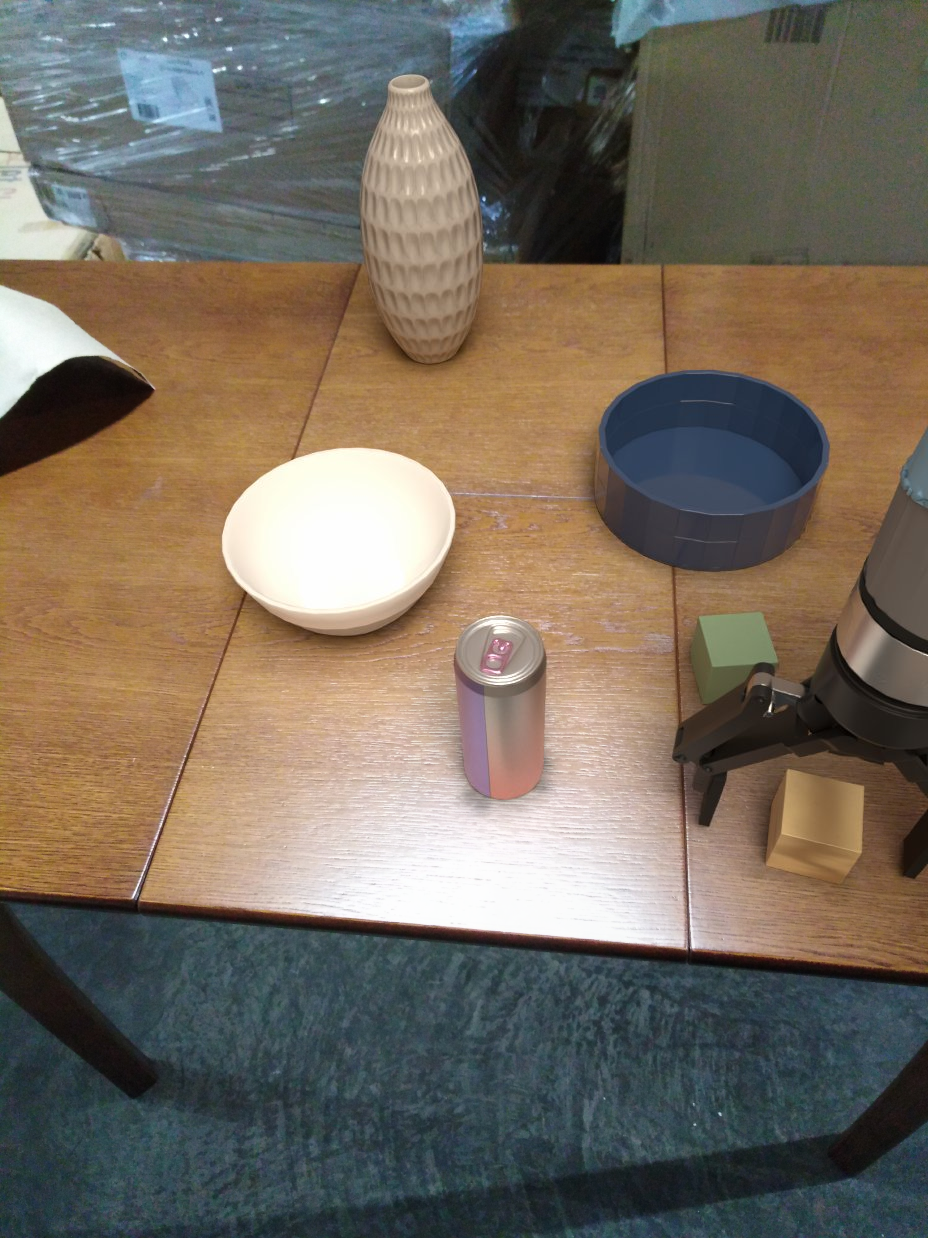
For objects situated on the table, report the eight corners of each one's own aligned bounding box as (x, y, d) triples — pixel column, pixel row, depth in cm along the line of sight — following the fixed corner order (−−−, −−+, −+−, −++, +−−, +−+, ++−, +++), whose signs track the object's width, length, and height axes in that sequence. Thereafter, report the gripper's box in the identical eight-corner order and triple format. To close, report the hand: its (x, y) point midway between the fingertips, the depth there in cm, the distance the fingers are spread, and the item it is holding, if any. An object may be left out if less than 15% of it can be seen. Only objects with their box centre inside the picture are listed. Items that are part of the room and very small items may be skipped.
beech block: (843, 820, 64) (864, 786, 60) (840, 885, 61) (861, 853, 57) (771, 803, 65) (787, 768, 61) (764, 866, 62) (780, 833, 58)
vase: (408, 395, 98) (376, 122, 76) (359, 340, 105) (317, 76, 84) (507, 358, 102) (503, 86, 80) (453, 306, 109) (436, 45, 87)
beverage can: (452, 789, 67) (437, 671, 55) (481, 726, 70) (472, 602, 59) (528, 814, 65) (529, 698, 54) (553, 748, 69) (559, 625, 57)
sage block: (749, 650, 74) (761, 611, 70) (765, 700, 71) (779, 662, 67) (689, 654, 74) (698, 615, 70) (702, 704, 71) (712, 666, 67)
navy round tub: (816, 444, 90) (835, 385, 84) (801, 590, 78) (822, 533, 72) (616, 414, 94) (622, 357, 89) (573, 548, 82) (577, 491, 77)
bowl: (252, 524, 86) (230, 458, 80) (452, 504, 87) (446, 436, 80) (237, 688, 74) (210, 626, 68) (471, 664, 74) (466, 599, 68)
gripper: (1171, 646, 45) (996, 831, 62) (676, 553, 51) (636, 746, 67) (1199, 773, 41) (1002, 936, 57) (653, 655, 46) (617, 835, 63)
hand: (804, 834), depth 62 cm, fingers open, 13 cm apart
